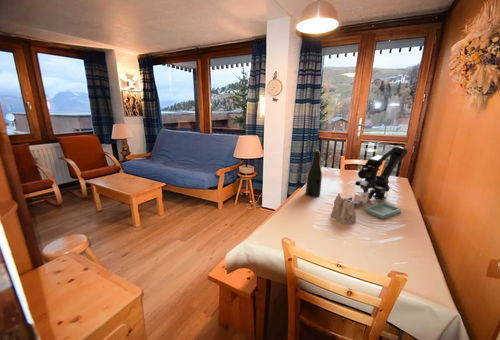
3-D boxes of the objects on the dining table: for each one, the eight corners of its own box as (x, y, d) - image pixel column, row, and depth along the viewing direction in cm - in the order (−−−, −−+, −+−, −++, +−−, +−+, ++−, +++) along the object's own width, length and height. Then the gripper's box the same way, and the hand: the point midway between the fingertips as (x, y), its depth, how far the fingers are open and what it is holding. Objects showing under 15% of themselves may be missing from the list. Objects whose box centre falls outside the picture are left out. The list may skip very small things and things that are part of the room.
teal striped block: (365, 198, 158) (366, 190, 156) (371, 200, 153) (373, 192, 152) (353, 201, 152) (354, 193, 150) (360, 204, 147) (361, 196, 146)
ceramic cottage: (343, 226, 121) (348, 200, 117) (325, 213, 136) (329, 190, 132) (366, 224, 125) (371, 199, 122) (346, 211, 140) (350, 189, 137)
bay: (350, 200, 153) (351, 196, 152) (362, 205, 146) (362, 201, 145) (343, 202, 150) (344, 198, 149) (355, 208, 142) (356, 203, 141)
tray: (382, 205, 147) (383, 202, 146) (400, 212, 137) (401, 208, 137) (364, 211, 138) (365, 207, 137) (382, 219, 128) (382, 215, 128)
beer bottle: (302, 192, 166) (306, 149, 156) (313, 190, 170) (318, 148, 160) (311, 198, 156) (316, 152, 147) (323, 195, 160) (328, 151, 151)
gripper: (351, 174, 154) (348, 195, 159) (377, 182, 138) (373, 205, 143) (362, 172, 159) (358, 192, 164) (388, 180, 144) (383, 202, 148)
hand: (367, 197), depth 154 cm, fingers open, 3 cm apart
